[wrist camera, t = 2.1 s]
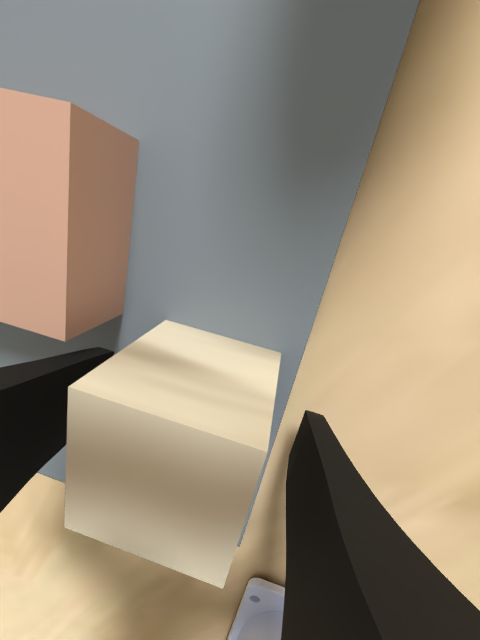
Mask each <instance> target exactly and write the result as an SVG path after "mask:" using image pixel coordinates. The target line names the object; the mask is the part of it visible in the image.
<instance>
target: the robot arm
mask: <svg viewBox="0 0 480 640" xmlns="http://www.w3.org/2000/svg"><path fill="white" fill-rule="evenodd" d="M112 356H114V351H111V350H108V349H104V348H101V347H95V348H89V349H84V350H79V351H74V352H70V353H66V354H61V355H57V356H52V357H48V358H44V359H39V360H35V361H30V362H25V363H20V364H15V365H10V366H5V367H0V513H1V511H2V510H3V509H4V508H5V507H6V506H7V505H8V503H9V502H10V501H11V500H12V499H13V498H14V497H15V496H16V494H17V493H18V492H19V491H20V490H21V489H22V488H23V487H24V485H25V484H26V483H27V482H28V481H29V480H30V479H31V478H32V477H33V476H34V475H35V474H36V473H37V472H38V471H39V470H40V469H41V468H42V467H43V466H44V465H45V464H46V463H47V462H48V461H49V460H51V459H52V458H53V457H54V456H55V455H56V454H57V453H58V452H59V451H60V450H61V449H62V448H63V447H64V446H65V445H66V444H67V408H68V386H70V385H71V384H73V383H74V382H76V381H77V380H79V379H80V378H82V377H83V376H85V375H86V374H87V373H89V372H90V371H92V370H93V369H95V368H96V367H98V366H99V365H101V364H102V363H104V362H105V361H106V360H108V359H109V358H111V357H112ZM227 640H480V611H479V610H478V609H477V608H476V607H475V606H474V605H473V604H472V603H471V602H470V601H469V600H468V599H467V598H466V597H465V596H464V595H463V594H462V593H461V592H460V591H459V590H458V589H457V588H456V587H455V586H454V585H453V584H452V583H451V582H450V581H449V580H448V579H447V578H446V577H445V576H444V575H443V574H442V573H441V572H440V571H439V570H438V569H437V568H436V567H435V566H434V565H433V563H432V562H431V561H430V560H429V559H428V558H427V557H426V556H425V555H424V554H423V553H422V552H421V550H420V549H419V548H418V547H417V546H416V545H415V544H414V543H413V542H412V541H411V539H410V538H409V537H408V536H407V535H406V534H405V533H404V531H403V530H402V529H401V528H400V527H399V525H398V524H397V523H396V522H395V521H394V519H393V518H392V517H391V516H390V514H389V513H388V512H387V511H386V509H385V508H384V507H383V506H382V504H381V503H380V502H379V501H378V499H377V498H376V497H375V495H374V494H373V493H372V491H371V490H370V488H369V487H368V486H367V484H366V483H365V481H364V480H363V479H362V477H361V476H360V474H359V473H358V471H357V470H356V468H355V467H354V465H353V464H352V462H351V461H350V459H349V458H348V456H347V454H346V453H345V451H344V450H343V448H342V446H341V445H340V443H339V441H338V440H337V438H336V436H335V434H334V433H333V431H332V429H331V428H330V426H329V424H328V422H327V421H326V419H325V417H324V416H323V415H320V414H317V413H314V412H310V411H307V410H305V413H304V416H303V419H302V422H301V424H300V427H299V430H298V433H297V435H296V438H295V441H294V444H293V447H292V449H291V452H290V455H289V462H288V470H287V480H286V582H285V587H282V586H279V585H277V584H274V583H271V582H269V581H266V580H263V579H261V578H252V579H250V580H249V581H248V584H247V587H246V589H245V592H244V595H243V598H242V600H241V603H240V606H239V609H238V611H237V614H236V617H235V619H234V622H233V625H232V628H231V630H230V633H229V636H228V638H227Z"/></svg>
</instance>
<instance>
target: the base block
mask: <svg viewBox="0 0 480 640" xmlns="http://www.w3.org/2000/svg"><path fill="white" fill-rule="evenodd" d="M138 149H139V140H137V139H136V138H134V137H132V136H130V135H128V134H127V133H125V132H123V131H121V130H120V129H118V128H116V127H114V126H112V125H111V124H109V123H107V122H105V121H103V120H102V119H100V118H98V117H96V116H94V115H93V114H91V113H89V112H87V111H85V110H84V109H82V108H80V107H78V106H76V105H75V104H73V103H71V102H67V101H62V100H57V99H52V98H48V97H43V96H38V95H33V94H28V93H24V92H19V91H14V90H9V89H4V88H0V322H3V323H6V324H9V325H13V326H16V327H19V328H22V329H26V330H29V331H32V332H35V333H39V334H42V335H45V336H48V337H52V338H55V339H58V340H61V341H65V342H66V341H68V340H70V339H72V338H74V337H76V336H78V335H80V334H82V333H84V332H86V331H88V330H90V329H93V328H95V327H97V326H99V325H101V324H103V323H105V322H107V321H109V320H111V319H113V318H115V317H117V316H119V315H122V314H123V310H124V299H125V288H126V278H127V267H128V256H129V245H130V235H131V224H132V213H133V202H134V192H135V181H136V170H137V159H138Z"/></svg>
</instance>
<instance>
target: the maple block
mask: <svg viewBox="0 0 480 640" xmlns="http://www.w3.org/2000/svg"><path fill="white" fill-rule="evenodd" d="M280 359H281V353H280V352H276V351H273V350H269V349H266V348H262V347H259V346H255V345H252V344H248V343H245V342H241V341H238V340H234V339H231V338H227V337H224V336H220V335H217V334H213V333H210V332H206V331H203V330H200V329H196V328H193V327H189V326H186V325H182V324H179V323H175V322H172V321H168V320H165V321H163V322H162V323H161V324H159V325H158V326H156V327H155V328H153V329H152V330H150V331H149V332H147V333H146V334H144V335H143V336H142V337H140V338H139V339H137V340H136V341H134V342H133V343H131V344H130V345H128V346H127V347H125V348H124V349H123V350H121V351H120V352H118V353H117V354H115V355H114V356H112V357H111V358H109V359H108V360H106V361H105V362H104V363H102V364H101V365H99V366H98V367H96V368H95V369H93V370H92V371H90V372H89V373H87V374H86V375H85V376H83V377H82V378H80V379H79V380H77V381H76V382H74V383H73V384H71V385H70V386H68V408H67V444H66V480H65V515H64V528H67V529H69V530H72V531H75V532H77V533H80V534H82V535H85V536H87V537H90V538H93V539H95V540H98V541H100V542H103V543H106V544H108V545H111V546H113V547H116V548H119V549H121V550H124V551H126V552H129V553H131V554H134V555H137V556H139V557H142V558H144V559H147V560H150V561H152V562H155V563H157V564H160V565H162V566H165V567H168V568H170V569H173V570H175V571H178V572H181V573H183V574H186V575H188V576H191V577H194V578H196V579H199V580H201V581H204V582H206V583H209V584H212V585H214V586H217V587H219V588H222V589H223V588H224V584H225V581H226V578H227V575H228V572H229V569H230V566H231V563H232V560H233V557H234V554H235V551H236V548H237V545H238V542H239V538H240V535H241V532H242V529H243V526H244V523H245V520H246V517H247V514H248V511H249V508H250V505H251V502H252V499H253V495H254V492H255V489H256V486H257V483H258V480H259V477H260V474H261V471H262V468H263V465H264V462H265V459H266V456H267V452H268V446H269V439H270V431H271V424H272V417H273V410H274V402H275V395H276V388H277V381H278V373H279V366H280Z"/></svg>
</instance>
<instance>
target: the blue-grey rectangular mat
mask: <svg viewBox="0 0 480 640" xmlns="http://www.w3.org/2000/svg"><path fill="white" fill-rule="evenodd" d="M419 2H420V0H0V88H4V89H9V90H14V91H19V92H24V93H28V94H33V95H38V96H43V97H48V98H52V99H57V100H62V101H67V102H71V103H73V104H75V105H76V106H78V107H80V108H82V109H84V110H85V111H87V112H89V113H91V114H93V115H94V116H96V117H98V118H100V119H102V120H103V121H105V122H107V123H109V124H111V125H112V126H114V127H116V128H118V129H120V130H121V131H123V132H125V133H127V134H128V135H130V136H132V137H134V138H136V139H137V140H139V149H138V159H137V170H136V181H135V192H134V202H133V213H132V224H131V235H130V245H129V256H128V267H127V278H126V288H125V299H124V310H123V314H122V315H119V316H117V317H115V318H113V319H111V320H109V321H107V322H105V323H103V324H101V325H99V326H97V327H95V328H93V329H90V330H88V331H86V332H84V333H82V334H80V335H78V336H76V337H74V338H72V339H70V340H68V341H66V342H65V341H61V340H58V339H55V338H52V337H48V336H45V335H42V334H39V333H35V332H32V331H29V330H26V329H22V328H19V327H16V326H13V325H9V324H6V323H3V322H0V367H5V366H10V365H15V364H20V363H25V362H30V361H35V360H39V359H44V358H48V357H52V356H57V355H61V354H66V353H70V352H74V351H79V350H84V349H89V348H95V347H101V348H104V349H108V350H111V351H114V355H115V354H117V353H118V352H120V351H121V350H123V349H124V348H125V347H127V346H128V345H130V344H131V343H133V342H134V341H136V340H137V339H139V338H140V337H142V336H143V335H144V334H146V333H147V332H149V331H150V330H152V329H153V328H155V327H156V326H158V325H159V324H161V323H162V322H163V321H165V320H168V321H172V322H175V323H179V324H182V325H186V326H189V327H193V328H196V329H200V330H203V331H206V332H210V333H213V334H217V335H220V336H224V337H227V338H231V339H234V340H238V341H241V342H245V343H248V344H252V345H255V346H259V347H262V348H266V349H269V350H273V351H276V352H280V353H281V359H280V366H279V373H278V381H277V388H276V395H275V402H274V410H273V417H272V424H271V431H270V439H269V446H268V452H267V456H266V459H265V462H264V465H263V468H262V471H261V474H260V477H259V480H258V483H257V486H256V489H255V492H254V495H253V499H252V502H251V505H250V508H249V511H248V514H247V517H246V520H245V523H244V526H243V529H242V532H241V535H240V538H239V542H238V545H237V546H238V547H240V544H241V541H242V538H243V535H244V532H245V529H246V526H247V523H248V520H249V517H250V514H251V511H252V508H253V505H254V501H255V498H256V495H257V492H258V489H259V486H260V483H261V480H262V477H263V474H264V471H265V468H266V465H267V462H268V459H269V456H270V453H271V450H272V447H273V444H274V441H275V438H276V435H277V432H278V429H279V426H280V423H281V420H282V417H283V414H284V411H285V408H286V405H287V402H288V399H289V396H290V393H291V389H292V386H293V383H294V380H295V377H296V374H297V371H298V368H299V365H300V362H301V359H302V356H303V353H304V350H305V347H306V344H307V341H308V338H309V335H310V332H311V329H312V326H313V323H314V320H315V317H316V314H317V311H318V308H319V305H320V302H321V299H322V296H323V293H324V290H325V287H326V284H327V281H328V277H329V274H330V271H331V268H332V265H333V262H334V259H335V256H336V253H337V250H338V247H339V244H340V241H341V238H342V235H343V232H344V229H345V226H346V223H347V220H348V217H349V214H350V211H351V208H352V205H353V202H354V199H355V196H356V193H357V190H358V187H359V184H360V181H361V178H362V175H363V172H364V169H365V165H366V162H367V159H368V156H369V153H370V150H371V147H372V144H373V141H374V138H375V135H376V132H377V129H378V126H379V123H380V120H381V117H382V114H383V111H384V108H385V105H386V102H387V99H388V96H389V93H390V90H391V87H392V84H393V81H394V78H395V75H396V72H397V69H398V66H399V63H400V60H401V57H402V53H403V50H404V47H405V44H406V41H407V38H408V35H409V32H410V29H411V26H412V23H413V20H414V17H415V14H416V11H417V8H418V5H419ZM37 473H40V474H42V475H45V476H48V477H50V478H53V479H56V480H59V481H61V482H64V483H65V480H66V445H65V446H64V447H63V448H62V449H61V450H60V451H59V452H58V453H57V454H56V455H55V456H54V457H53V458H52V459H51V460H49V461H48V462H47V463H46V464H45V465H44V466H43V467H42V468H41V469H40V470H39V471H38V472H37Z"/></svg>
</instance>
